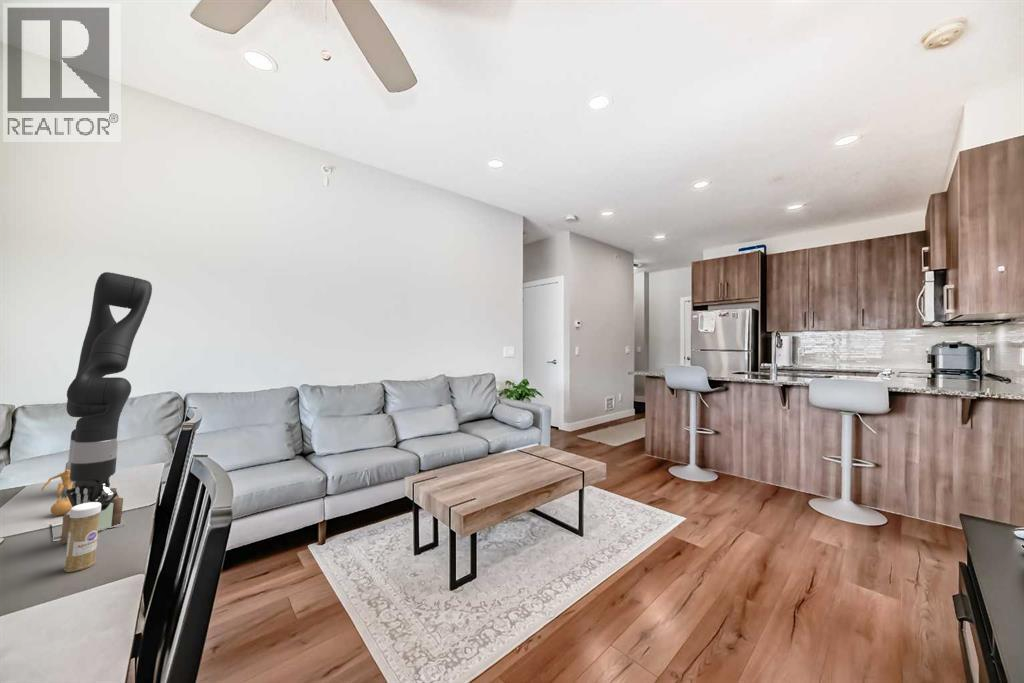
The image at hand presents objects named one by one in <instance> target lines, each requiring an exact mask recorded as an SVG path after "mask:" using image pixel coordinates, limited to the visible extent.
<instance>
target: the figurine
mask: <svg viewBox="0 0 1024 683" xmlns="http://www.w3.org/2000/svg"><path fill="white" fill-rule="evenodd" d="M57 478H61V482H60V483H58V484H57V486H58V487H57V495H58V498H57V500H56V502H55V503H53V505H51V507H50V513H51V514H52V515H54V516H64V515H67V514H68V513H70V509H71V508H72V505H71V503H70V500H69V498H68V496H65V499H62V494H63V492H62V491H63V488H64V486H66V489H67V490H68V489H71V488H72V485H73V482H70V470H64V471H63V472H62V473H59V474H57V475H54V476H52V477H50V478H49V479H48V480H47V481H46V482H45V484H43V486H42V488H41V491H44V489H46V486H48V484H50V482H51V481H52V480H54V479H57ZM63 514H64V515H63Z"/></svg>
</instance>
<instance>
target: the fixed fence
mask: <svg viewBox="0 0 1024 683" xmlns="http://www.w3.org/2000/svg"><path fill="white" fill-rule="evenodd" d="M109 489H110V491H111V492H113V491H117V487H111V488H109ZM111 503H114V504H113V514H112V524H111V526H114V525H117V524H120V523H121V519H122V517H123V516H122V515H123V514H122V513H123V507H124V506H123V504H124V498H123V497H120V496H119V495H118V493H117V495H116V497H115V498H114V499H113V501H112V502H111Z"/></svg>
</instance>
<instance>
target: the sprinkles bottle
mask: <svg viewBox="0 0 1024 683" xmlns="http://www.w3.org/2000/svg"><path fill="white" fill-rule="evenodd" d="M100 511H101V503H99V502H89V503H83V504H79V505H76V506H74V507H72V508H71V509H70V511H69V514H70V515H69V517H70V526H69V532H68V540H67V543H66V550H65V558H66V559H65V566H64V567H63V571H65V572H67V573H74V572H78V571H82V570H85V569H87V568H90V567H92V566H93V565H94V564H95V562H96V558H95V557H96V550H97V544H98V537H99V536H98V533H99V532H98V522H99V514H100Z"/></svg>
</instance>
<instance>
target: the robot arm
mask: <svg viewBox="0 0 1024 683" xmlns="http://www.w3.org/2000/svg"><path fill="white" fill-rule="evenodd" d="M93 291H94V292H93V298H92V305H91V311H90V317H89V323H88V326H87V328H86V329H87V330H86V331H85V336H84V340H83V342H82V346H81V351H80V356H79V362H78V367H77V372H76V375H75V377H74V379H73V380H72V382H71V383H70V384H69V385H68V388H67V391H66V398H67V399H66V413H67V414H68V416H70V417H72V418H78V419H77V421H76V423H75V424H76V425H75V428H74V429H73V430H72V431H71V433H70V444H69V449H68V460H67V462H66V463H65V466H64V467H65V468H64V469H65V470H70V482H73V485H72V488H71V489H68V490H67V489H66V486H64V488H63V490H62V494H64V496H65V497H66V496H68V498H69V500H70V503H71V505H72V507H74V506H76V505H79V504H83V503H89V502H99V503H101V511H103V510H106V508H107V507H108V506H109V505H110V503H111V502H112V501H113V499H114V498H115V497H116V495H117V494H118V491H117V490H116V491H113V492H111V491H110V489H111V488H110V486H111V484H110V483H111V482H110V479H111V477H112V476H113V475H115V473H116V470H117V468H116V467H117V458H118V431H119V430H118V429H119V421H120V417H121V415H122V412H123V409H124V407H125V405H126V403H127V401H128V399H129V397H130V394H131V393H132V385H131V382H130V381H129V379H126V378H125V377H118V376H117V377H115V376H113V377H108V375H109V376H110V375H113V374H119V373H122V372H124V371H125V370H126V369H127V366H128V364H129V358H130V354H131V351H132V350H131V349H132V346H133V345H134V344H133V343H134V340H135V338H136V335H137V333H138V330H139V329H140V327H141V325H142V322H143V319H144V318H145V314H146V313H147V310H148V307H149V303H150V300H151V298H152V293H153V292H152V291H153V286H152V283H151V282H150V281H149V280H146V279H142V278H139V277H134V276H130V275H126V274H120V273H115V272H110V271H109V272H108V271H106V272H102V273H101V274H100V275H98V278H97V279H96V282H95V286H94V290H93ZM110 307H118V308H124V309H129V312H128V313H127V314H126V315H125V317H123V318H121V319H120V320H118V321H116V319H115V317H114V316H113V314H112V310H111V308H110ZM106 376H107V377H106ZM65 470H64V471H65Z"/></svg>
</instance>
